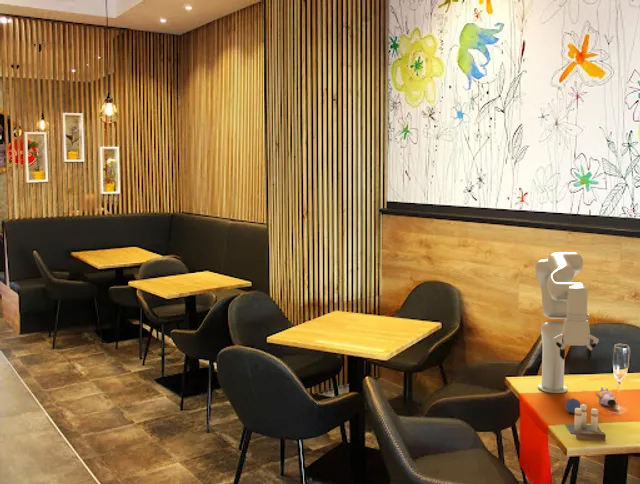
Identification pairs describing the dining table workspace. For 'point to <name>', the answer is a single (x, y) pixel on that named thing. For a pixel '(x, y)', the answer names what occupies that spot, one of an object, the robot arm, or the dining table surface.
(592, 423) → the pin back left
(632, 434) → the dining table surface
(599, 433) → the backstop
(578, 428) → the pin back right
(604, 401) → the toy
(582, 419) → the pin front
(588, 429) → the pin deck mark
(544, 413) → the dining table surface
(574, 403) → the ball
